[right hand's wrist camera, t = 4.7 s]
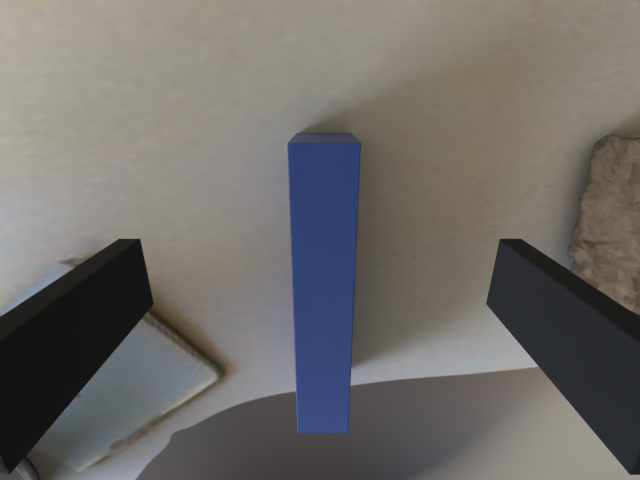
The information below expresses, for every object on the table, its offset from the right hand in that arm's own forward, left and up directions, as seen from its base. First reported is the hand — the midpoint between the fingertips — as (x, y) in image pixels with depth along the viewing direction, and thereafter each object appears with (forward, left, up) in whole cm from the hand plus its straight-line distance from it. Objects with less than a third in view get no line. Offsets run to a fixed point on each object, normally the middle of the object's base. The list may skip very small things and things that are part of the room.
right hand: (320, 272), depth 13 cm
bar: (0, +12, -23) cm, 26 cm away
